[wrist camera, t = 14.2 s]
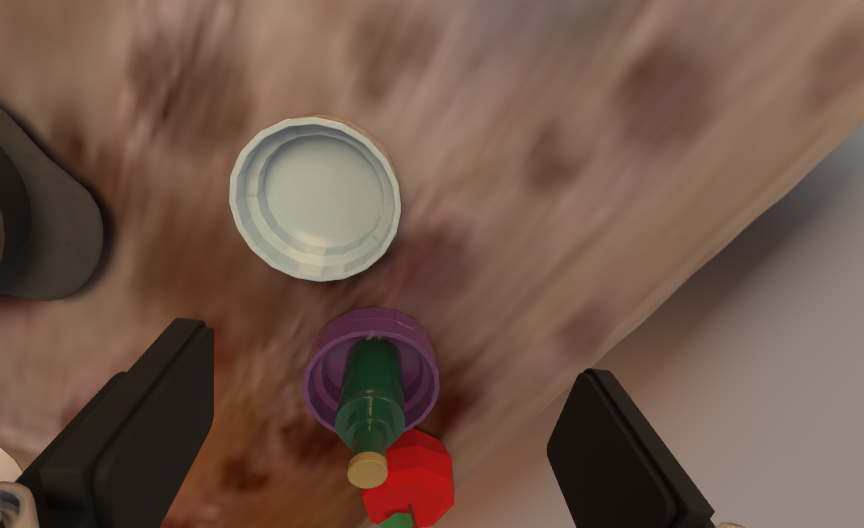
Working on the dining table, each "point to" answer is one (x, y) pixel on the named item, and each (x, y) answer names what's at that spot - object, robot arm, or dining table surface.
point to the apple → (412, 484)
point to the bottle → (370, 408)
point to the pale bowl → (316, 197)
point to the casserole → (43, 222)
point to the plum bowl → (362, 324)
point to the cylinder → (8, 468)
